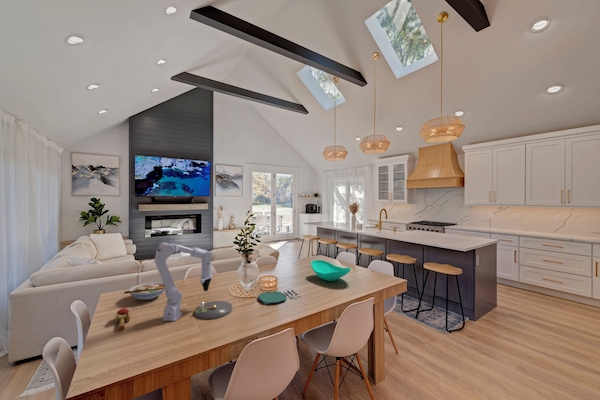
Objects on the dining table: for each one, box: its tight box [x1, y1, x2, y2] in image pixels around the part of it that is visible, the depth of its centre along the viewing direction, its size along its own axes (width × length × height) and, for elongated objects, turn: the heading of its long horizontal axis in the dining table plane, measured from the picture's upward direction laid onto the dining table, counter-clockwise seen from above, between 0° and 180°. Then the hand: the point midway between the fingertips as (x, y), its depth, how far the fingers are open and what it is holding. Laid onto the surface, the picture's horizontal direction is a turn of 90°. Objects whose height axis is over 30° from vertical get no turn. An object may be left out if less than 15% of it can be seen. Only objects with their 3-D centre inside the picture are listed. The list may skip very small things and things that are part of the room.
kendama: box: [114, 307, 132, 332], centre depth 135 cm, size 8×6×18 cm
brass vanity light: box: [197, 301, 217, 311], centre depth 151 cm, size 11×3×5 cm, turn 119°
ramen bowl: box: [123, 281, 166, 301], centre depth 170 cm, size 25×23×8 cm
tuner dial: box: [194, 300, 233, 320], centre depth 153 cm, size 22×22×2 cm
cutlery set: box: [257, 289, 300, 306], centre depth 175 cm, size 20×30×2 cm, turn 118°
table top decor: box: [310, 259, 352, 282], centre depth 216 cm, size 40×28×13 cm
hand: (205, 290), depth 158 cm, fingers closed
